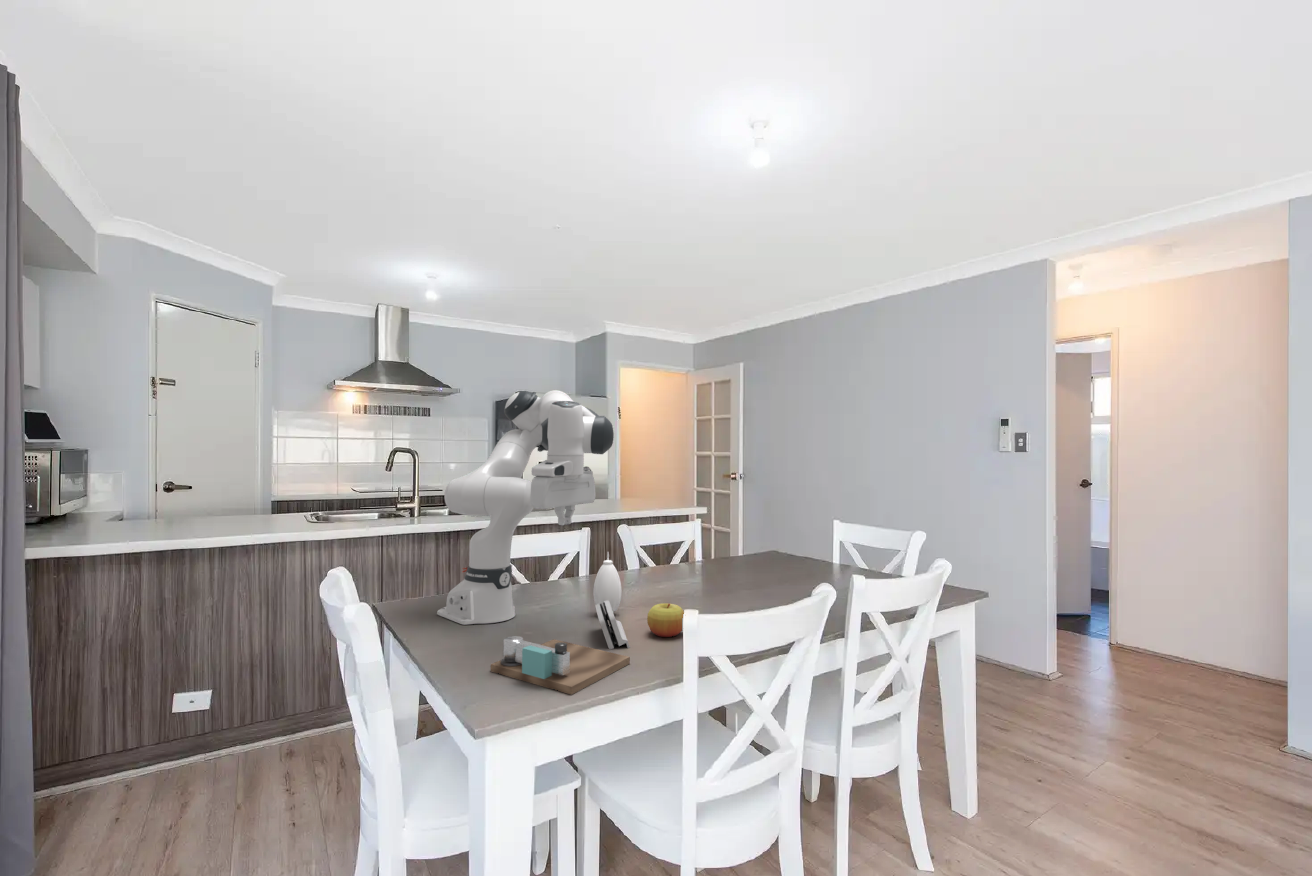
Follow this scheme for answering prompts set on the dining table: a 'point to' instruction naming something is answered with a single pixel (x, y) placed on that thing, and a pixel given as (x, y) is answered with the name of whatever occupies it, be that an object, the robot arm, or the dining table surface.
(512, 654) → the lock bar
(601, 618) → the white slotted block
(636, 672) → the dining table surface
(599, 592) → the white tall oval piece
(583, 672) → the wooden cutting board
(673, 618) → the apple
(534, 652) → the block
